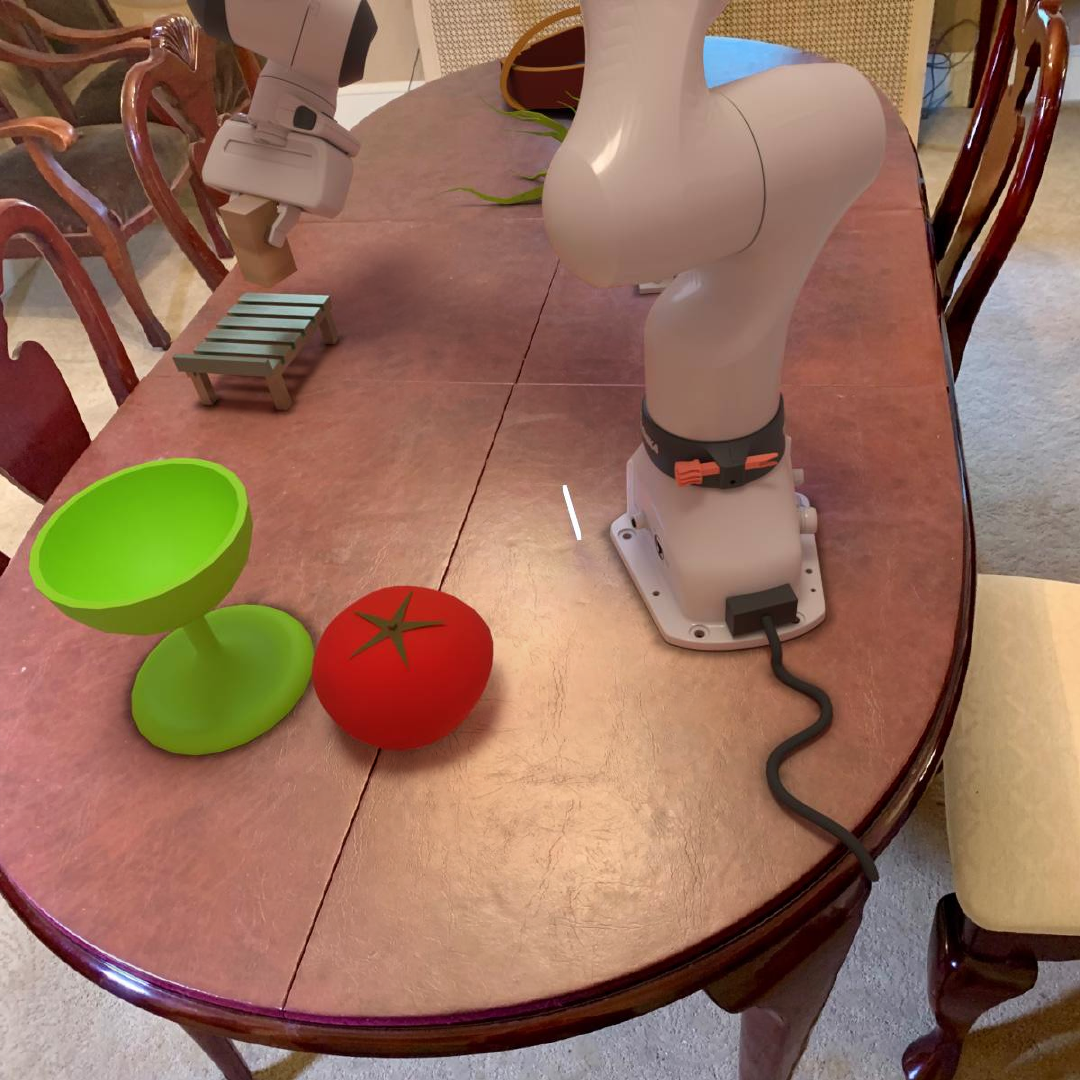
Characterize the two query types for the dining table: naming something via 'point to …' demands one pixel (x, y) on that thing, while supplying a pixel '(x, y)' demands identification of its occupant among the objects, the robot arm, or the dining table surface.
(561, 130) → the decorative plant
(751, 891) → the dining table surface
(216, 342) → the rack
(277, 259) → the block
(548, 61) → the decorative basket
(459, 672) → the tomato
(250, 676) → the wineglass
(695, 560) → the robot arm
